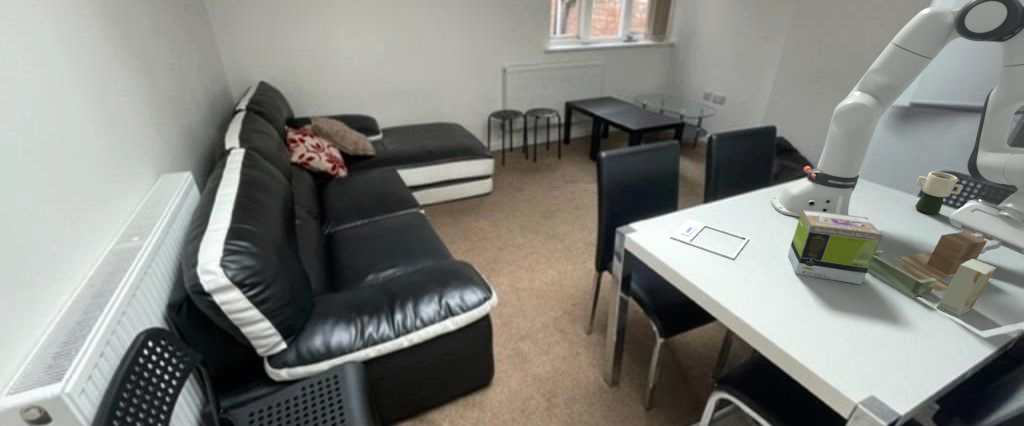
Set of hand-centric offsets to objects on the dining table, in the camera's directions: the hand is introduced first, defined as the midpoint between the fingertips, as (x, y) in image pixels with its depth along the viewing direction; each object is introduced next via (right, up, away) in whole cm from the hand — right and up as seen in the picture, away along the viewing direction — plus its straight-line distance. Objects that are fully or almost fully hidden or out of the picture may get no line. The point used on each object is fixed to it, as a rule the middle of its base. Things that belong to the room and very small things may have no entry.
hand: (974, 250), depth 115 cm
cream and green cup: (+18, +10, +33) cm, 39 cm away
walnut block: (-7, -5, 0) cm, 8 cm away
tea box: (-40, -5, +1) cm, 40 cm away
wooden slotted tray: (-14, -6, -1) cm, 16 cm away
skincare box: (-19, -13, -13) cm, 27 cm away
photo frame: (-63, +2, +15) cm, 65 cm away
